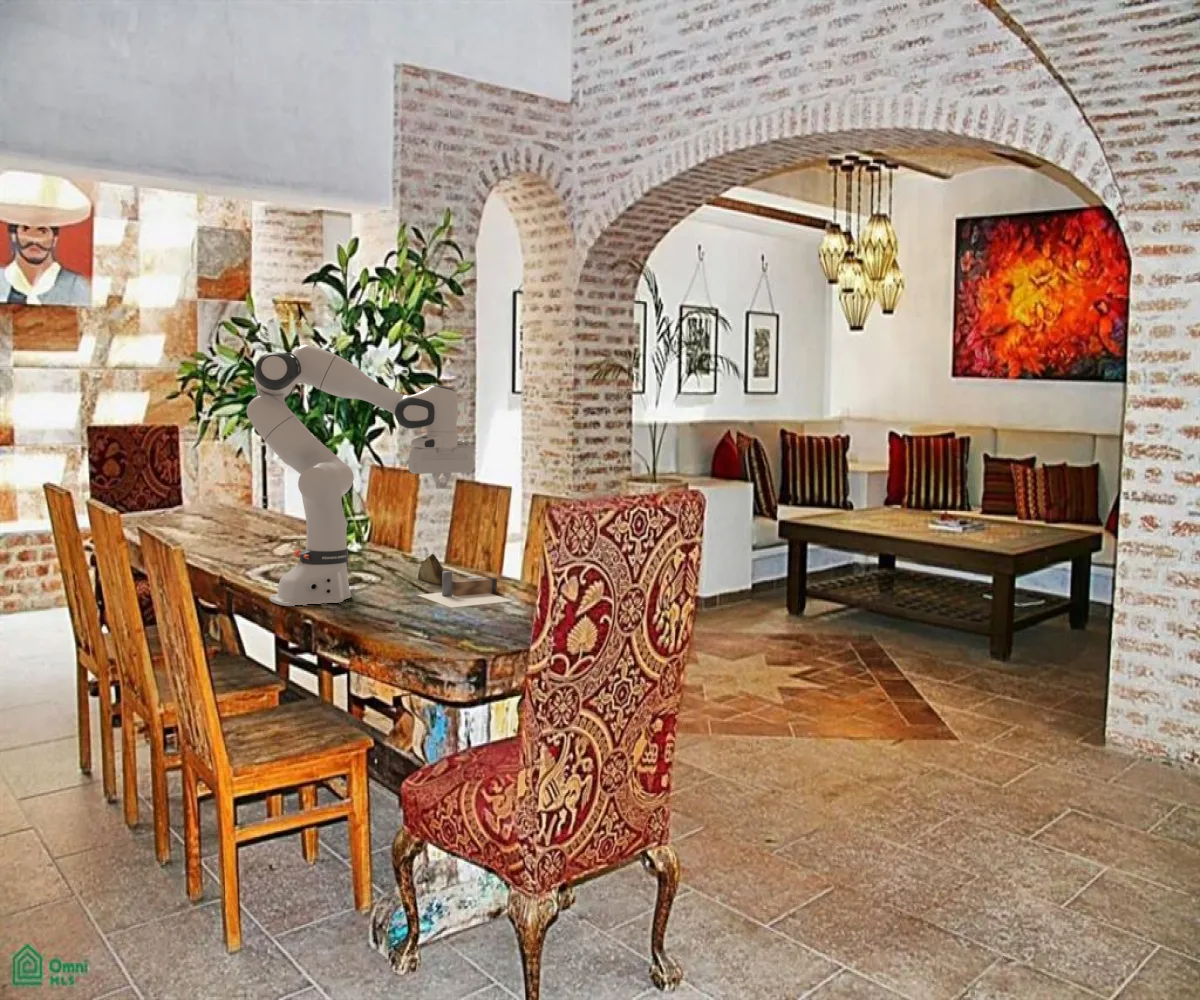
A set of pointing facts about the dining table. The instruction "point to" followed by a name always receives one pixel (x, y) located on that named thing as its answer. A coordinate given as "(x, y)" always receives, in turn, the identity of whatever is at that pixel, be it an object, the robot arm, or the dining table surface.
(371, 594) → the dining table surface
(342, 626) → the dining table surface
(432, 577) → the rock
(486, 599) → the wall mounted roll holder
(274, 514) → the dining table surface
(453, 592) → the leg
